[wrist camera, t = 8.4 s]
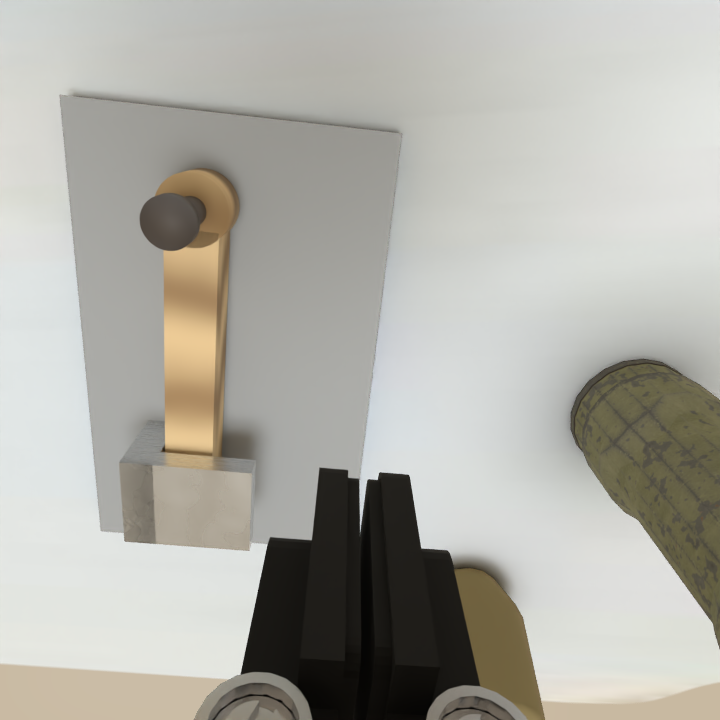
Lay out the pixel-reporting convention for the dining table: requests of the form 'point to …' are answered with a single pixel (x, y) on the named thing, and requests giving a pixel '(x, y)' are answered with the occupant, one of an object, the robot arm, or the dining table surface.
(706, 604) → the olive green pillar
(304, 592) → the robot arm
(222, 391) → the oak link
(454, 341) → the dining table surface
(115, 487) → the base plate
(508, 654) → the squeeze bottle
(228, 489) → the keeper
